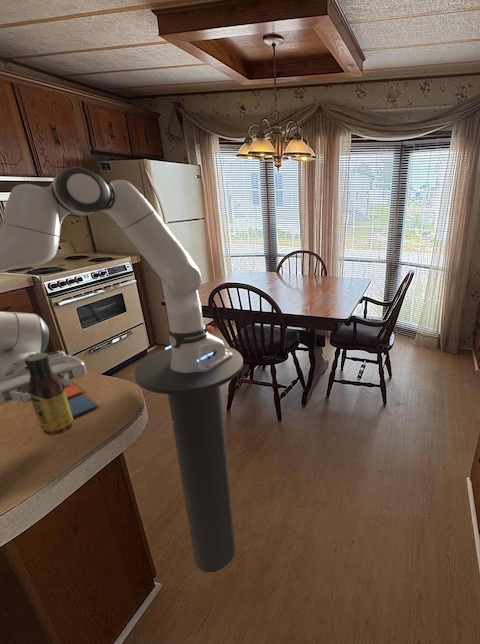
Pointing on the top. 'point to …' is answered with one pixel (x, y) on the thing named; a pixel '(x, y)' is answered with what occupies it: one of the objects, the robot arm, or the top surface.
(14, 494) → the top surface
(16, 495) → the top surface
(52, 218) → the robot arm
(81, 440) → the top surface
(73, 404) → the blue pad
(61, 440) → the top surface
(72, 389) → the terracotta pad
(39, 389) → the sauce bottle
